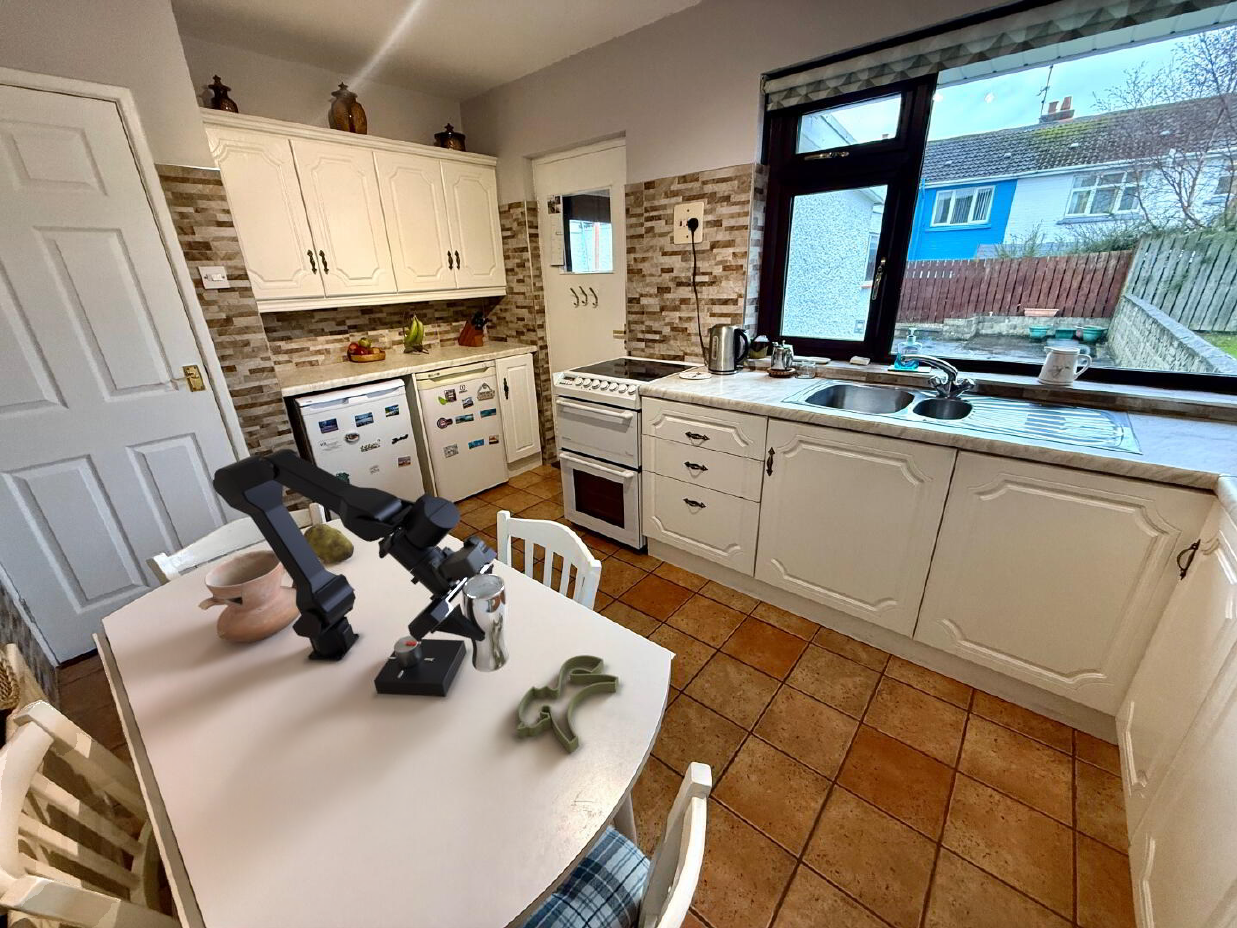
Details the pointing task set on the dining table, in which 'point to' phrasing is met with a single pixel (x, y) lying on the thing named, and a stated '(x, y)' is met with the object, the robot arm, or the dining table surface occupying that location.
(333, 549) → the potato
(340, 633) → the robot arm
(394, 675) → the hob panel
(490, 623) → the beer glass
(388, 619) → the dining table surface
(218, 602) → the ceramic jug
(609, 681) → the cookie cutter
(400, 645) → the hob knob
